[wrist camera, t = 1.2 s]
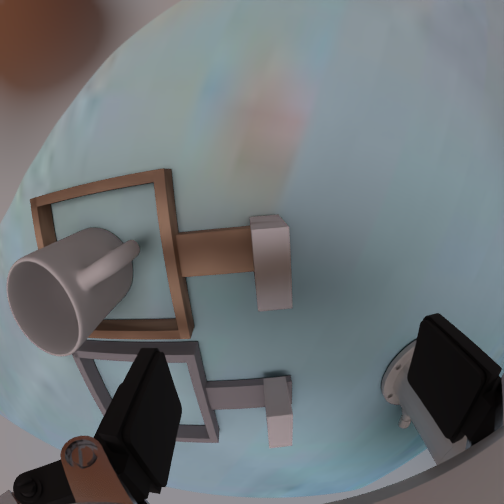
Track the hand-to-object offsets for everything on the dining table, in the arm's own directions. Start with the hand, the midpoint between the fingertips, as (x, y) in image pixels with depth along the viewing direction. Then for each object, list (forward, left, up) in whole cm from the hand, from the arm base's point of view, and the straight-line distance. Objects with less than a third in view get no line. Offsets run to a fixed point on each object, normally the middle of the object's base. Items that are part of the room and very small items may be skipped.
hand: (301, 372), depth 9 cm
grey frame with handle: (-18, +11, -18) cm, 28 cm away
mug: (0, +16, -18) cm, 24 cm away
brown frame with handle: (0, +11, -18) cm, 21 cm away
